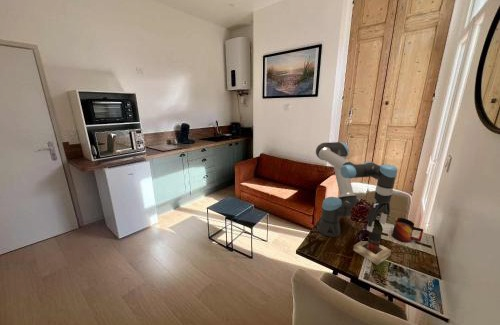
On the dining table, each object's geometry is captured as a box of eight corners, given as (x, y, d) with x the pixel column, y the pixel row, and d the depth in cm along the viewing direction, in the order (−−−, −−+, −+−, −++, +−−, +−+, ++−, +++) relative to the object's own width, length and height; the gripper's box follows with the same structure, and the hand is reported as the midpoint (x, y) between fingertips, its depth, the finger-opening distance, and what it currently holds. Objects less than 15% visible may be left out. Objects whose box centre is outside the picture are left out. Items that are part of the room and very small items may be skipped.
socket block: (353, 250, 123) (354, 245, 122) (366, 242, 130) (367, 237, 129) (377, 265, 111) (378, 259, 110) (390, 255, 118) (391, 250, 117)
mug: (420, 243, 128) (425, 227, 125) (397, 242, 129) (401, 225, 126) (410, 234, 137) (414, 218, 134) (389, 233, 139) (392, 217, 135)
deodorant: (363, 249, 122) (367, 228, 118) (371, 248, 124) (376, 226, 119) (371, 256, 117) (375, 234, 113) (379, 255, 118) (384, 232, 114)
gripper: (378, 201, 100) (370, 238, 107) (402, 190, 113) (394, 223, 119) (363, 195, 106) (356, 230, 113) (387, 185, 119) (380, 217, 125)
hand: (375, 227), depth 116 cm, fingers open, 13 cm apart
